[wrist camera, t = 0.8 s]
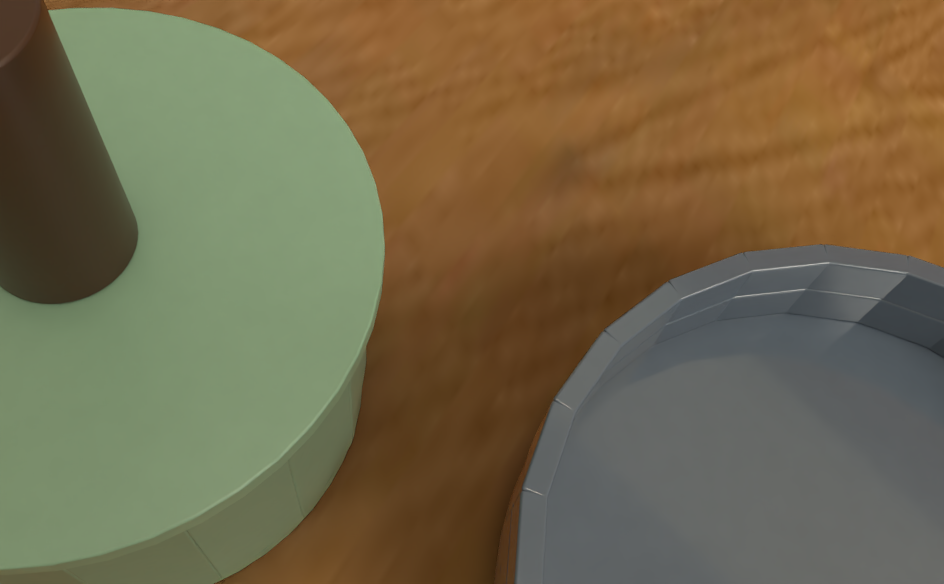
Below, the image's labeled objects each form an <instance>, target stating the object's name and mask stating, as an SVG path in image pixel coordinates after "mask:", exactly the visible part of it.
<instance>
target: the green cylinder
mask: <svg viewBox="0 0 944 584" xmlns="http://www.w3.org/2000/svg"><path fill="white" fill-rule="evenodd" d="M365 367H366V348H365V351H364V353H363V356H362V358H361V361H360V363H359V365H358V367H357V369H356V371H355V372H354V374H353V376H352V378H351V380H350V381H349V383H348V385H347V387H346V388H345V390H344V392H343V394H342V395H341V397H340V399H339V401H338V402H337V403H336V405H335V406H334V407H333V409H332V410H331V411H330V412H329V414H328V415H327V416H326V418H325V419H324V420H323V422H322V423H321V424H320V426H319V427H318V428H317V430H316V431H315V432H314V434H313V435H312V436H311V437H310V438H309V439H308V440H307V441H306V442H305V443H304V444H303V445H302V446H301V447H300V448H299V449H298V450H297V451H296V452H295V453H294V454H293V455H292V456H291V457H290V459H289V460H288V461H287V462H286V463H285V464H284V465H283V466H282V467H281V468H279V469H278V470H277V471H276V472H274V473H273V474H272V475H271V476H269V477H268V478H267V479H266V480H264V481H263V482H262V483H261V484H259V485H258V486H257V487H256V488H254V489H253V490H252V491H251V492H249V493H248V494H247V495H246V496H244V497H243V498H241V499H240V500H238V501H236V502H235V503H233V504H232V505H230V506H228V507H227V508H225V509H224V510H222V511H220V512H219V513H217V514H216V515H214V516H212V517H211V518H209V519H208V520H206V521H204V522H203V523H201V524H198V525H196V526H194V527H192V528H190V529H188V530H186V531H184V532H181V533H179V534H177V535H175V536H173V537H171V538H169V539H167V540H165V541H162V542H160V543H158V544H156V545H153V546H150V547H147V548H144V549H141V550H138V551H135V552H132V553H129V554H126V555H123V556H120V557H117V558H114V559H111V560H108V561H103V562H98V563H93V564H88V565H83V566H79V567H74V568H69V569H64V570H59V571H50V572H38V573H25V574H13V575H0V584H214V583H216V582H218V581H220V580H222V579H225V578H227V577H229V576H231V575H233V574H235V573H237V572H239V571H240V570H242V569H243V568H245V567H246V566H248V565H249V564H251V563H252V562H254V561H256V560H257V559H259V558H260V557H262V556H263V555H265V554H266V553H267V552H269V551H270V550H271V549H272V548H273V547H275V546H276V545H277V544H278V543H279V542H280V541H282V540H283V539H284V538H285V537H286V536H288V535H289V534H290V533H291V532H292V531H293V530H294V529H295V528H296V527H297V526H298V525H299V524H300V522H301V521H302V520H303V519H304V518H305V517H306V516H307V515H308V514H309V513H310V512H311V511H312V510H313V508H314V507H315V505H316V504H317V503H318V501H319V500H320V498H321V497H322V496H323V494H324V493H325V491H326V490H327V489H328V487H329V486H330V484H331V483H332V481H333V479H334V477H335V475H336V473H337V471H338V470H339V468H340V466H341V464H342V462H343V460H344V458H345V456H346V453H347V451H348V449H349V447H350V445H351V444H352V440H353V438H354V434H355V428H356V423H357V419H358V415H359V411H360V406H361V396H362V385H363V379H364V373H365Z"/></svg>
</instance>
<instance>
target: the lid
mask: <svg viewBox="0 0 944 584" xmlns="http://www.w3.org/2000/svg"><path fill="white" fill-rule="evenodd" d="M384 260H385V243H384V228H383V214H382V210H381V205H380V201H379V196H378V192H377V188H376V183H375V180H374V178H373V175H372V173H371V170H370V168H369V165H368V163H367V160H366V158H365V155H364V153H363V151H362V149H361V147H360V146H359V144H358V142H357V140H356V139H355V137H354V135H353V134H352V132H351V130H350V128H349V127H348V125H347V124H346V122H345V121H344V120H343V119H342V117H341V116H340V115H339V114H338V112H337V111H336V110H335V109H334V107H333V106H332V105H331V103H330V102H329V101H328V100H327V99H326V98H325V97H324V96H323V95H322V94H321V93H320V92H319V91H318V90H317V89H316V88H315V87H314V86H313V85H312V84H311V83H310V82H309V81H308V80H307V79H305V78H304V77H303V76H302V75H301V74H299V73H298V72H297V71H295V70H294V69H292V68H291V67H290V66H288V65H287V64H286V63H284V62H283V61H282V60H280V59H279V58H277V57H276V56H274V55H272V54H270V53H269V52H267V51H265V50H263V49H262V48H260V47H258V46H256V45H254V44H253V43H251V42H249V41H247V40H245V39H242V38H240V37H237V36H235V35H233V34H230V33H228V32H226V31H223V30H221V29H218V28H216V27H212V26H209V25H206V24H202V23H199V22H196V21H192V20H189V19H186V18H181V17H176V16H171V15H166V14H160V13H155V12H150V11H141V10H130V9H119V8H69V9H58V10H47V7H46V5H45V3H44V0H0V575H13V574H25V573H38V572H50V571H59V570H64V569H69V568H74V567H79V566H83V565H88V564H93V563H98V562H103V561H108V560H111V559H114V558H117V557H120V556H123V555H126V554H129V553H132V552H135V551H138V550H141V549H144V548H147V547H150V546H153V545H156V544H158V543H160V542H162V541H165V540H167V539H169V538H171V537H173V536H175V535H177V534H179V533H181V532H184V531H186V530H188V529H190V528H192V527H194V526H196V525H198V524H201V523H203V522H204V521H206V520H208V519H209V518H211V517H212V516H214V515H216V514H217V513H219V512H220V511H222V510H224V509H225V508H227V507H228V506H230V505H232V504H233V503H235V502H236V501H238V500H240V499H241V498H243V497H244V496H246V495H247V494H248V493H249V492H251V491H252V490H253V489H254V488H256V487H257V486H258V485H259V484H261V483H262V482H263V481H264V480H266V479H267V478H268V477H269V476H271V475H272V474H273V473H274V472H276V471H277V470H278V469H279V468H281V467H282V466H283V465H284V464H285V463H286V462H287V461H288V460H289V459H290V457H291V456H292V455H293V454H294V453H295V452H296V451H297V450H298V449H299V448H300V447H301V446H302V445H303V444H304V443H305V442H306V441H307V440H308V439H309V438H310V437H311V436H312V435H313V434H314V432H315V431H316V430H317V428H318V427H319V426H320V424H321V423H322V422H323V420H324V419H325V418H326V416H327V415H328V414H329V412H330V411H331V410H332V409H333V407H334V406H335V405H336V403H337V402H338V401H339V399H340V397H341V395H342V394H343V392H344V390H345V388H346V387H347V385H348V383H349V381H350V380H351V378H352V376H353V374H354V372H355V371H356V369H357V367H358V365H359V363H360V361H361V358H362V356H363V353H364V351H365V348H366V346H367V343H368V340H369V338H370V335H371V333H372V330H373V327H374V323H375V319H376V315H377V311H378V306H379V302H380V298H381V294H382V284H383V272H384Z"/></svg>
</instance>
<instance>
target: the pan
mask: <svg viewBox="0 0 944 584" xmlns="http://www.w3.org/2000/svg"><path fill="white" fill-rule="evenodd" d="M494 584H944V268H943V267H940V266H937V265H935V264H932V263H929V262H926V261H923V260H921V259H918V258H915V257H912V256H906V255H901V254H894V253H886V252H879V251H871V250H864V249H856V248H849V247H841V246H834V245H827V244H826V245H822V244H819V245H809V246H799V247H789V248H780V249H770V250H760V251H750V252H744V253H739V254H736V255H734V256H731V257H728V258H726V259H723V260H720V261H718V262H715V263H713V264H710V265H707V266H705V267H702V268H699V269H697V270H694V271H692V272H689V273H686V274H684V275H681V276H678V277H676V278H673V279H671V280H669V281H668V282H666V283H664V284H663V285H661V286H660V287H659V288H657V289H656V290H655V291H653V292H652V293H651V294H649V295H648V296H647V297H646V298H644V299H643V300H642V301H640V302H639V303H638V304H636V305H635V306H634V307H632V308H631V309H630V310H628V311H627V312H626V313H624V314H623V315H622V316H621V317H619V318H618V319H617V320H615V321H614V322H613V323H611V324H610V325H609V326H607V327H606V328H605V329H604V331H603V332H601V333H600V334H599V336H598V337H597V339H596V340H595V341H594V343H593V344H592V345H591V347H590V348H589V350H588V351H587V352H586V354H585V355H584V357H583V358H582V359H581V361H580V362H579V363H578V365H577V366H576V368H575V369H574V370H573V372H572V373H571V375H570V376H569V377H568V379H567V380H566V381H565V383H564V384H563V386H562V387H561V388H560V390H559V391H558V393H557V394H556V395H555V397H554V398H553V400H552V402H551V404H550V406H549V408H548V410H547V412H546V414H545V417H544V419H543V421H542V423H541V425H540V427H539V429H538V431H537V433H536V435H535V437H534V439H533V442H532V444H531V447H530V450H529V453H528V456H527V458H526V461H525V464H524V467H523V469H522V472H521V474H520V476H519V479H518V481H517V483H516V486H515V488H514V490H513V493H512V496H511V499H510V503H509V507H508V510H507V514H506V517H505V521H504V524H503V528H502V532H501V536H500V543H499V550H498V557H497V564H496V571H495V578H494Z"/></svg>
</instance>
